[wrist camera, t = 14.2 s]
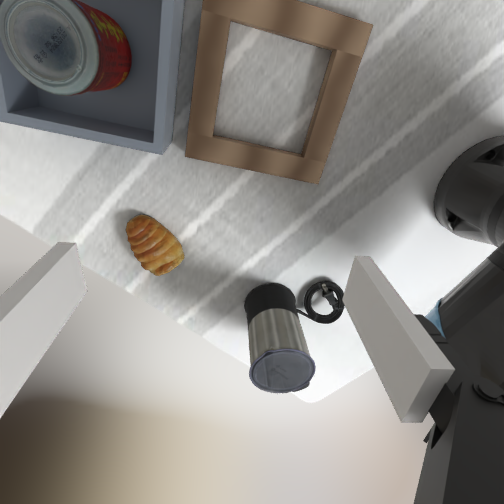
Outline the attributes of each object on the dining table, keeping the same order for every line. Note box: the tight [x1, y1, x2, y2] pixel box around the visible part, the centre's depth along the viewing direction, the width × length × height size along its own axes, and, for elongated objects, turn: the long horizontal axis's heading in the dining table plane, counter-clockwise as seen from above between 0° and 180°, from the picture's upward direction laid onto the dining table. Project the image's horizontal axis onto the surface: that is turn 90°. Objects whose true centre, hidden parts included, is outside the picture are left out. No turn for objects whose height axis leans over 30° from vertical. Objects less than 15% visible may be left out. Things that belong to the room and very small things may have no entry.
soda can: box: [0, 0, 132, 96], centre depth 27 cm, size 7×7×12 cm
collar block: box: [185, 0, 373, 184], centre depth 36 cm, size 18×18×2 cm
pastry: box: [126, 215, 184, 276], centre depth 45 cm, size 9×7×4 cm
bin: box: [0, 0, 185, 155], centre depth 31 cm, size 16×16×7 cm
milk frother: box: [244, 281, 345, 393], centre depth 48 cm, size 14×16×15 cm
